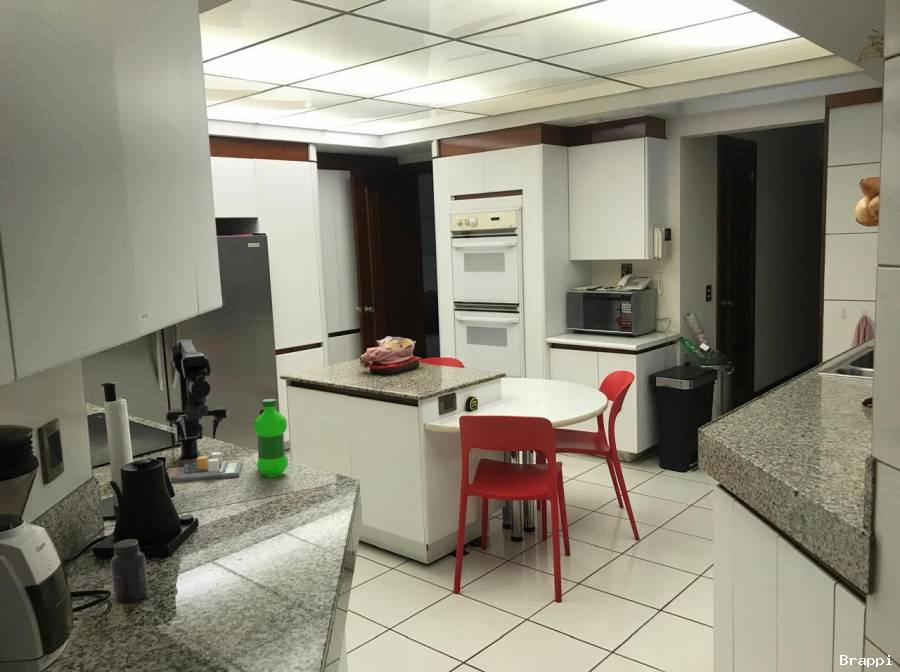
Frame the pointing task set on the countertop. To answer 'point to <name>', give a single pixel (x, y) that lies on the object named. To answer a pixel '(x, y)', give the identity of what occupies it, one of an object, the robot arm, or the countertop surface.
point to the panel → (203, 472)
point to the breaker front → (213, 465)
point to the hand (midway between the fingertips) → (199, 439)
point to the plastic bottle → (271, 440)
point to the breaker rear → (217, 456)
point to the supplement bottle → (128, 572)
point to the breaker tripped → (202, 462)
